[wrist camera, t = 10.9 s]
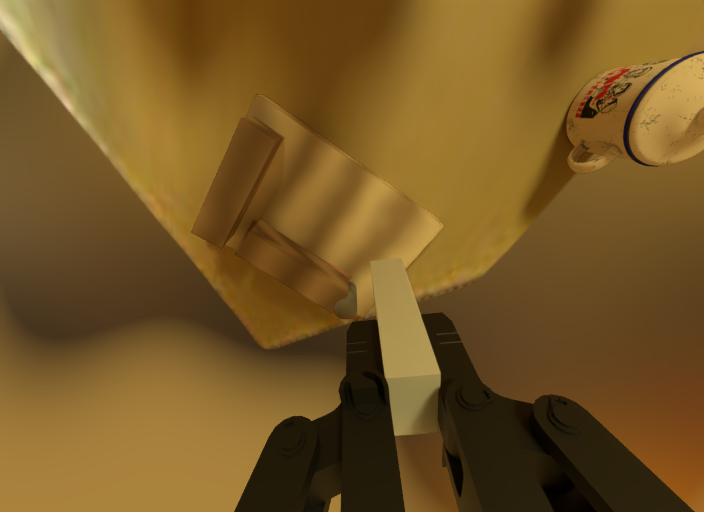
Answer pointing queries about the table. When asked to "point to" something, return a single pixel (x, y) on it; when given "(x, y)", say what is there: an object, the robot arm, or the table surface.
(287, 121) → the wooden board with block
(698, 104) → the teacup with lid
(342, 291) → the hinged leg
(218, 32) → the table surface
